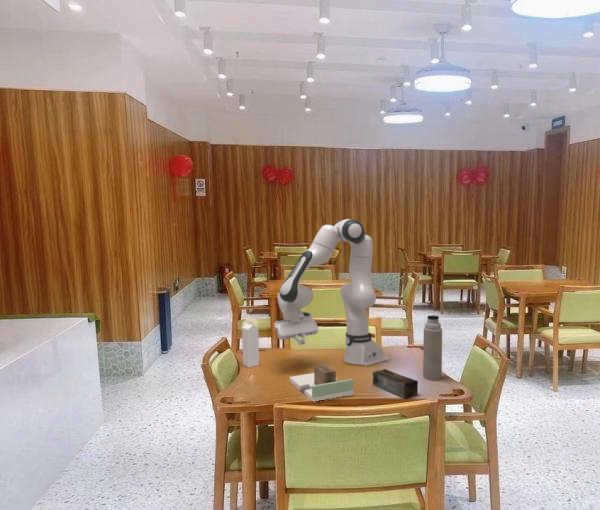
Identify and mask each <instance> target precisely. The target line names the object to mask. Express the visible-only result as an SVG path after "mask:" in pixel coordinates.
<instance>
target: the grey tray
mask: <svg viewBox="0 0 600 510" xmlns="http://www.w3.org/2000/svg"><path fill="white" fill-rule="evenodd" d="M289 382H290V383H291V384H292V385H293V386H294V387H295V388H296V389H297V390H298V391H299V392H301V393H302V394H303V395H304V396H305V395H306V396H307V397H306V396H305V397H306V398H307V399H309V398H310V399H311V400H312V401H313V402H314V403H316V402H315V401H319V400H325V399H330V400H332V399H331V398H335V399H337V398H336V397H340V398H343V397H342V396H345V397H350V396H353V395H354V379H353V378H349V379H344V380H338V378H337V377H336V382H331V383H325V384H319V385H315V384H314V372H312V373H307V374H306V373H304V374H298V375H293V376H289ZM310 399H309V400H310ZM311 400H310V401H311ZM312 401H311V402H312ZM325 401H326V400H325ZM313 402H312V403H313Z"/></svg>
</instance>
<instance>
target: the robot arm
mask: <svg viewBox="0 0 600 510" xmlns="http://www.w3.org/2000/svg"><path fill="white" fill-rule="evenodd" d="M341 241H342V242H347V243H349V245H350V254H349V255H350V256H349V265H348V273H349V275H350V282H346V283H344V284H343V285H342V286H341V287H340V297H341V299H342V302H343V305H344V307H343V308H344V311H345V316H346V317H345V318H346V332H345V351H344V357H343V362H345V363H346V364H350V365H357V366H358V365H361V366H366V367H368V366H372V365H375V364H379V363H383V362H386V361H388V356H387V355H385V354H384V350H383V348H382V346H381V345H380V344H378V343H377V342H376V341H374V340H373V339H375V338H376V334H375V333H371V332H369V331H370V330H369V328H370V327H369V324H370V321H369V320H370V319H369V316H368V315H369V314H368V313H367V311H366V309H370V308H372V307H373V306H374V305H375V304H376V300H377V295H376V292H375V290H374V286H373V280H372V279H373V278H372V266H373V265H372V264H373V256H374V255H373V253H374V249H373V248H374V247H373V246H374V245H373V239H372V237H371V236H370V235H367V234H366V232H365V229H364V225H363V224H362V222H360V221H359V220H357V219H353V218H352V219H351V218H345V219H341V220H338V221H337V222H336V223H334V224H333V225H332V224H324V225H322V226H321V227H320V228H319V230H318V232H317V234H316V235H315V237H314V239H313V240H312V243H311V245H310V246H309V248H308V249H307V250H306V251H304V252H302V254H301V255H300V256H299V258H298V259H297V261H296V263H295V264H294V266H293V268H292V270H291V271H290V273H289V274H288V276H287V278H286V279H285V280H283V282H282V283H281V285H280V286H279V290H278V293H277V303H278V307H279V309H280V311H281V313H282V318H283V319H281V320H276V322H274V324H273V326H274V329H275V330H276V334H277V335H276V336H277V339H279V340H280V341H281V340H288V339H294V340H295V341H296V342H297V344H298V345H299V346H300V345H305V344H306V336H313V335H316V334H317V333H318V332H319V326H318V323H317V322H316V320H315V319H314V318H313V317H312V313H311V312H306V311H302V310H301V309H303V308H305V307H307V306H308V305H310V304H311V302H312V300H313V298H314V297H313V296H314V294H313V291H312V289H311V288H310V287H307V286H305V285H303V284H301V283H300V281H302V278H303V277H304V275H305V273H306V272H307V271H308V269H309V268H310V267H312V266H317V265H318V266H319V265H324V264H326V263H327V262H328V261H330V259H331V257H332V255H333V253H334V250H335V249H336V246H337V245H338V243H339V242H341ZM299 337H300V338H301V339H300V338H299Z"/></svg>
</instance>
